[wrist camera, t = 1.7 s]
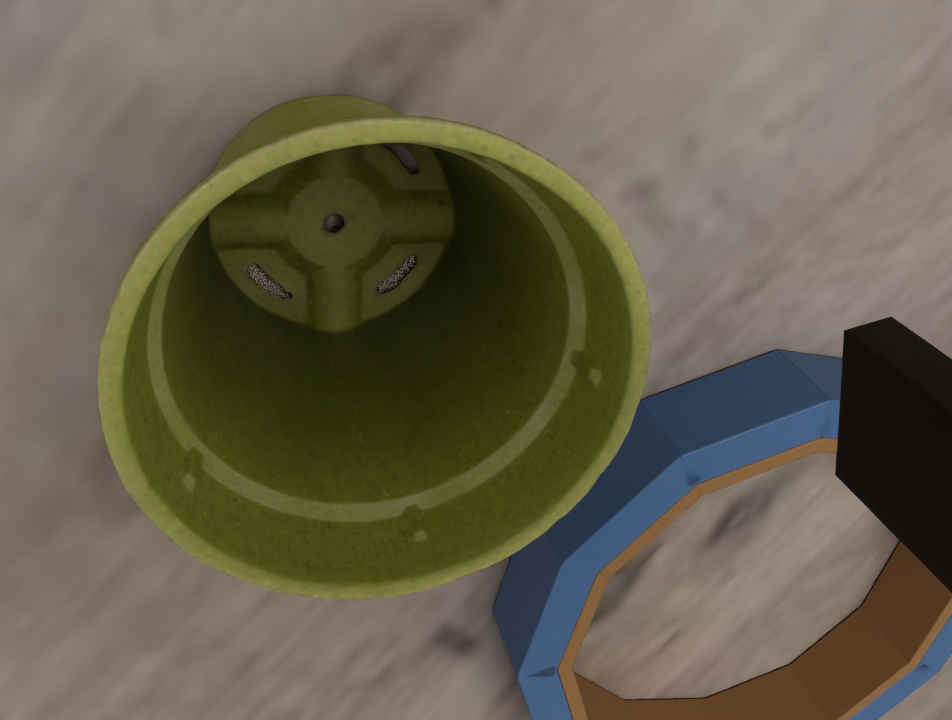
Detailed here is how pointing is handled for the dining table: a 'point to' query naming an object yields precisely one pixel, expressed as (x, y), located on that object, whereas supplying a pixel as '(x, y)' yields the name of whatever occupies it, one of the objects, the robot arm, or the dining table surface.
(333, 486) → the plant pot
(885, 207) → the dining table surface
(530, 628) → the tape roll
